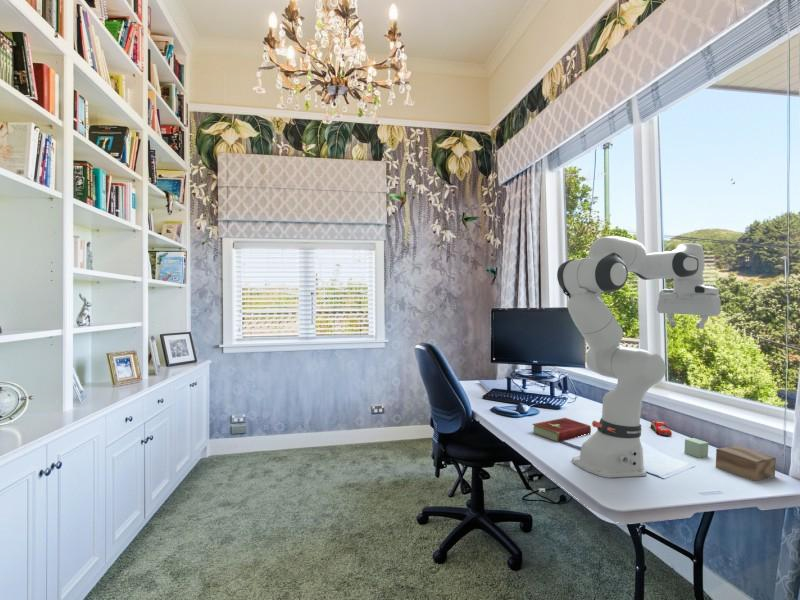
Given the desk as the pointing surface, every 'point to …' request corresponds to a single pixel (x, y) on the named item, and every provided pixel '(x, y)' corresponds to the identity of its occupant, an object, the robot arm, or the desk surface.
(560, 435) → the hardcover book
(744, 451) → the block
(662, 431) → the race car
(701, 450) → the cube
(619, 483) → the desk surface
